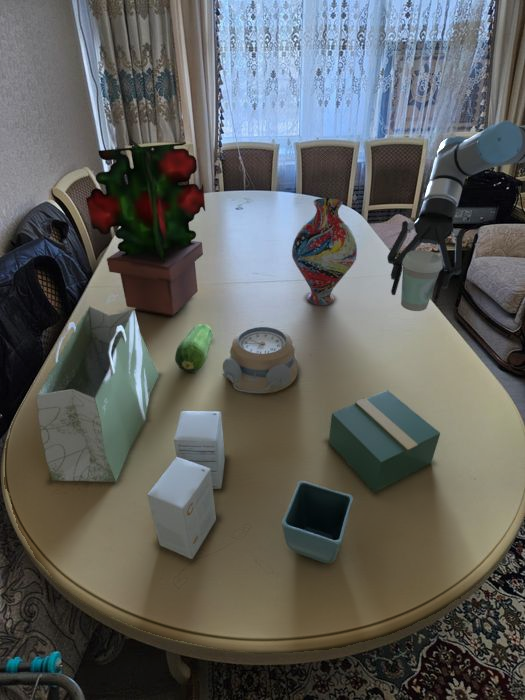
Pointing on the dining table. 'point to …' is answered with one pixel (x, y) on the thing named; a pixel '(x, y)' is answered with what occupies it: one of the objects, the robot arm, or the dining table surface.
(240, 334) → the alarm clock
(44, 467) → the dining table surface
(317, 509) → the flower pot
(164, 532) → the small box
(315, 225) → the vase
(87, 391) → the green gift bag
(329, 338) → the dining table surface
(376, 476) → the green parcel box
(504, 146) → the robot arm
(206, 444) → the white packaging box
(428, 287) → the coffee cup
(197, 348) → the vegetable
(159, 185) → the potted plant
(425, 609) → the dining table surface
